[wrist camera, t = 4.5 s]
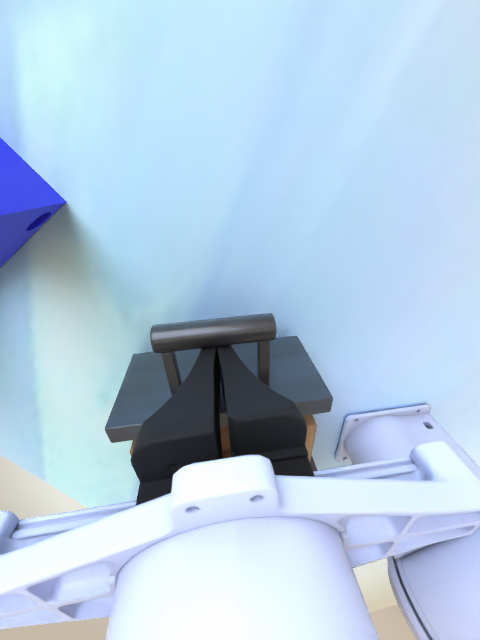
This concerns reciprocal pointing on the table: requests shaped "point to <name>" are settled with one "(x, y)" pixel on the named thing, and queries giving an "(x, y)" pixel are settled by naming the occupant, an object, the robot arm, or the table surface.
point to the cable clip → (22, 202)
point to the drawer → (254, 351)
